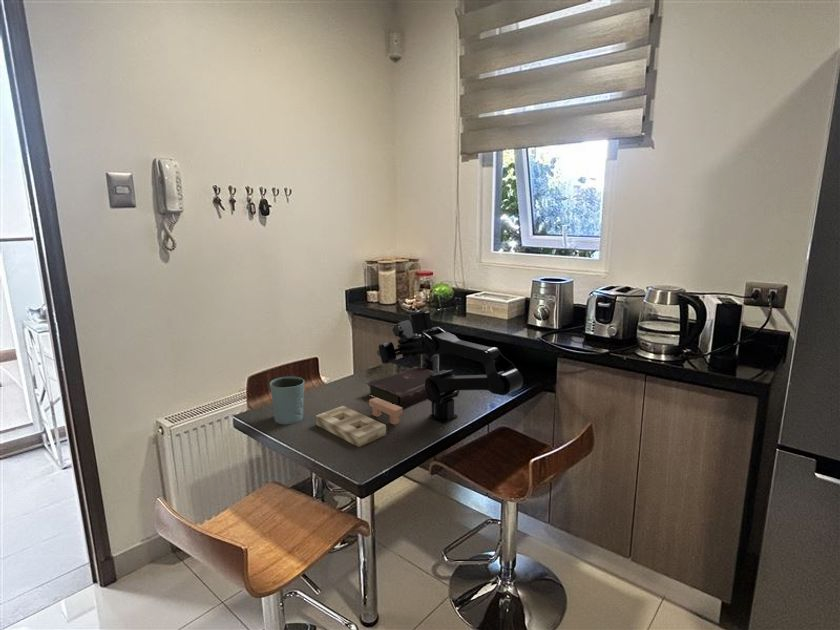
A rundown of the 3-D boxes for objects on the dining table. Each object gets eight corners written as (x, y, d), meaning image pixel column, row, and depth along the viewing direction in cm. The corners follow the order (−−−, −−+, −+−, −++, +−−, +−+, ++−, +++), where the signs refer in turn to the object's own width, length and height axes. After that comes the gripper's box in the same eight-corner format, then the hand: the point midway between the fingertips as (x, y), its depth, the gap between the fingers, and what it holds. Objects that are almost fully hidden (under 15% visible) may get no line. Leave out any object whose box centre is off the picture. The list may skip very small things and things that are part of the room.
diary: (452, 389, 176) (452, 376, 175) (403, 411, 158) (403, 396, 157) (414, 377, 188) (414, 364, 187) (364, 395, 170) (364, 382, 169)
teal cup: (266, 418, 152) (263, 382, 149) (294, 408, 159) (292, 373, 156) (284, 428, 145) (281, 390, 142) (313, 417, 152) (311, 381, 150)
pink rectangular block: (402, 423, 148) (402, 407, 147) (395, 426, 146) (395, 410, 145) (376, 411, 156) (376, 397, 155) (369, 414, 154) (368, 399, 153)
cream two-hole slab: (386, 434, 141) (385, 425, 140) (358, 447, 134) (358, 436, 133) (343, 414, 154) (343, 405, 154) (316, 424, 147) (316, 415, 147)
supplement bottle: (441, 378, 185) (441, 347, 183) (424, 380, 183) (423, 349, 181) (435, 372, 192) (435, 343, 189) (418, 374, 190) (418, 344, 187)
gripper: (433, 315, 161) (402, 321, 172) (391, 326, 148) (360, 332, 159) (441, 348, 161) (409, 352, 172) (399, 362, 148) (368, 365, 159)
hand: (387, 349), depth 166 cm, fingers open, 9 cm apart
